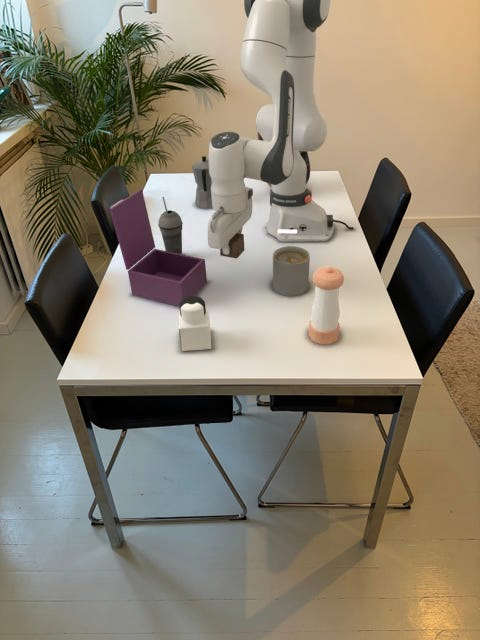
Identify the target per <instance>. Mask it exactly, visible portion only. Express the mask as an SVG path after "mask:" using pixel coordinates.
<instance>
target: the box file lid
mask: <svg viewBox="0 0 480 640" xmlns="http://www.w3.org/2000/svg"><path fill="white" fill-rule="evenodd" d="M109 213H110V216H111V218H112V223H113V226H114V230H115V234H116V238H117V242H118V245H119V249H120V252H121V256H122V260H123V263H124V266H125V270H126V271H129V270H130V269H131V268H132V267H133V266H135V265H136V264H137V263H138V262H139V261H141V260H142V259H143V258H144V257H145V256H147V255H148V254H149V253H150V252H151V251H153V250H154V249H156V243H155V239H154V235H153V231H152V226H151V222H150V218H149V213H148V209H147V206H146V200H145V196H144V192H143V189H141V188H140V189H137V190H136V191H135V192H133V193H132V194H130V195H129V196H127V197H125V198H124V199H120V200H119V201H117V202H116V203H114V204H113V205H111V206H110V207H109Z"/></svg>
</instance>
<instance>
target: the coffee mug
mask: <svg viewBox="0 0 480 640" xmlns="http://www.w3.org/2000/svg"><path fill="white" fill-rule="evenodd" d="M310 260H311V255H310V252H309V251H308V250H307V249H306V248H303V247H300V246H295V245H294V246H293V245H287V246H282V247H279V248H277V249H276V250H275V251H274V252H273V253H272V289H273V290H274V291H275V292H276V293H278V294H280V295H283V296H289V297H291V296H292V297H293V296H294V297H295V296H300V295H302V294H304V293H305V292H306V291H308V289H309V280H310V279H309V277H310Z"/></svg>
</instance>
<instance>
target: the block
mask: <svg viewBox="0 0 480 640" xmlns="http://www.w3.org/2000/svg"><path fill="white" fill-rule="evenodd" d="M228 245H229V247H231V252H230V253H229V254H228V255H227V254H223V248H222V249H219V254H220V257H225V258H231V259H236V260H238V259H239V258H240V256H241V255H242V254H243V253H244V251H245V234H244V233H241V234H240V233H236V234H235V235H234V236H233V237H232V238H231V239H230V240H229V244H228Z"/></svg>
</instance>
